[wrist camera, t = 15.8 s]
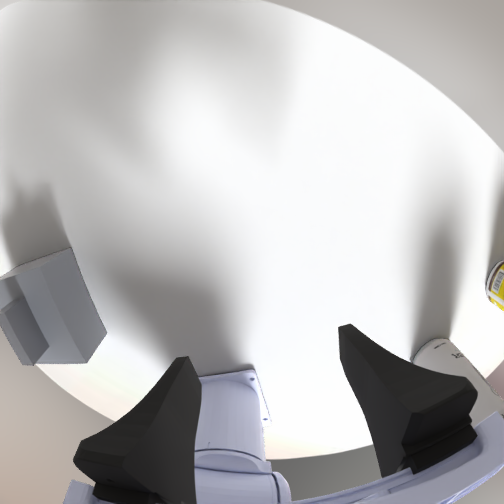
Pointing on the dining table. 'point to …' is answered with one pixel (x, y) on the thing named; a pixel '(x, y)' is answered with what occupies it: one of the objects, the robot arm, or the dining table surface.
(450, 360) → the energy drink can
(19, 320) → the grey stepped block
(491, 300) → the supplement bottle
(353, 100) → the dining table surface
